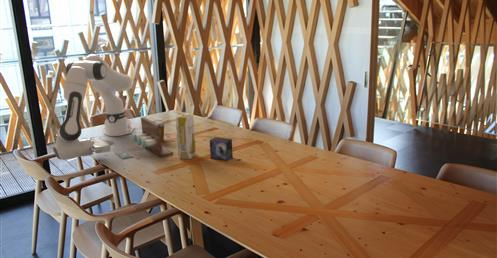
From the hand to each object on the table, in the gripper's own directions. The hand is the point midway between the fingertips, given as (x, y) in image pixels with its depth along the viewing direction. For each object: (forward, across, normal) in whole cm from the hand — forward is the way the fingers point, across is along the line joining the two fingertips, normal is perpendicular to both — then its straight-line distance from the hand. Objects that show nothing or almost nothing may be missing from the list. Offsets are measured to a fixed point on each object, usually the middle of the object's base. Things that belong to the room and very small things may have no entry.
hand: (113, 142), depth 230 cm
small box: (+44, -40, +8) cm, 60 cm away
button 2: (+15, -14, +2) cm, 21 cm away
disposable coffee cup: (+30, +12, +8) cm, 33 cm away
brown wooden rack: (+22, -7, +8) cm, 25 cm away
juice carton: (+31, -26, +8) cm, 41 cm away
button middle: (+15, -7, +2) cm, 17 cm away
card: (+4, -2, +8) cm, 9 cm away
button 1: (+15, 0, +2) cm, 15 cm away
